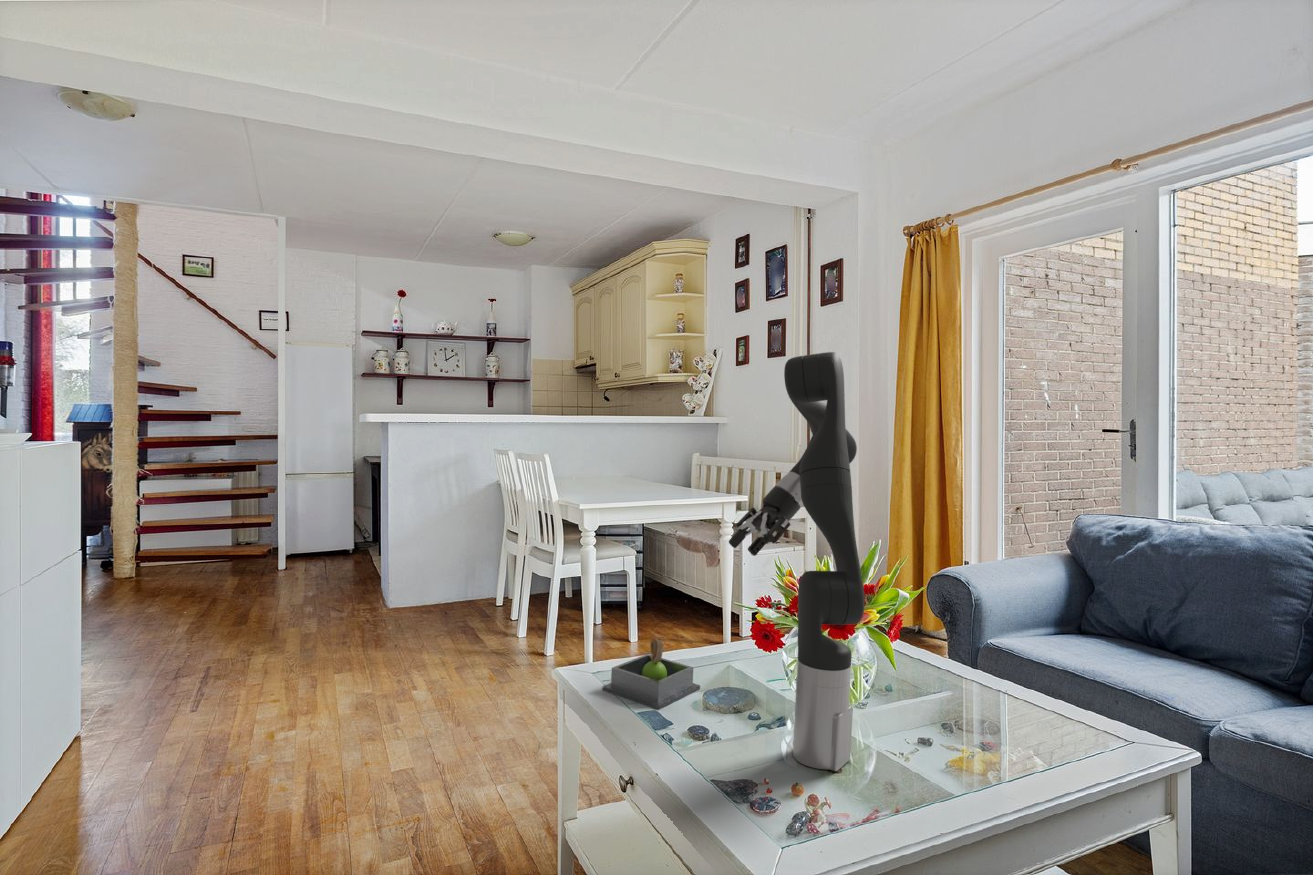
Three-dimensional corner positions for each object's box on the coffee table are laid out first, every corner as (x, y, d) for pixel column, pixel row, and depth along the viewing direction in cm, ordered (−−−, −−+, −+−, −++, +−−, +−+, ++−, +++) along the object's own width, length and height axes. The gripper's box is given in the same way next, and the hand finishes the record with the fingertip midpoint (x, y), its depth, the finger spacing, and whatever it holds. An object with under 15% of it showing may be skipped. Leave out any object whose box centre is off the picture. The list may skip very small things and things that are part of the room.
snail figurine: (647, 693, 155) (649, 637, 154) (637, 682, 161) (640, 628, 160) (671, 691, 157) (674, 635, 156) (661, 680, 163) (663, 626, 162)
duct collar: (700, 688, 161) (701, 667, 161) (659, 709, 149) (660, 685, 149) (645, 671, 170) (646, 651, 170) (602, 689, 158) (603, 667, 158)
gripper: (761, 481, 171) (715, 531, 167) (796, 488, 158) (747, 543, 154) (780, 504, 174) (734, 554, 170) (815, 512, 161) (767, 567, 156)
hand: (740, 548), depth 162 cm, fingers open, 8 cm apart
